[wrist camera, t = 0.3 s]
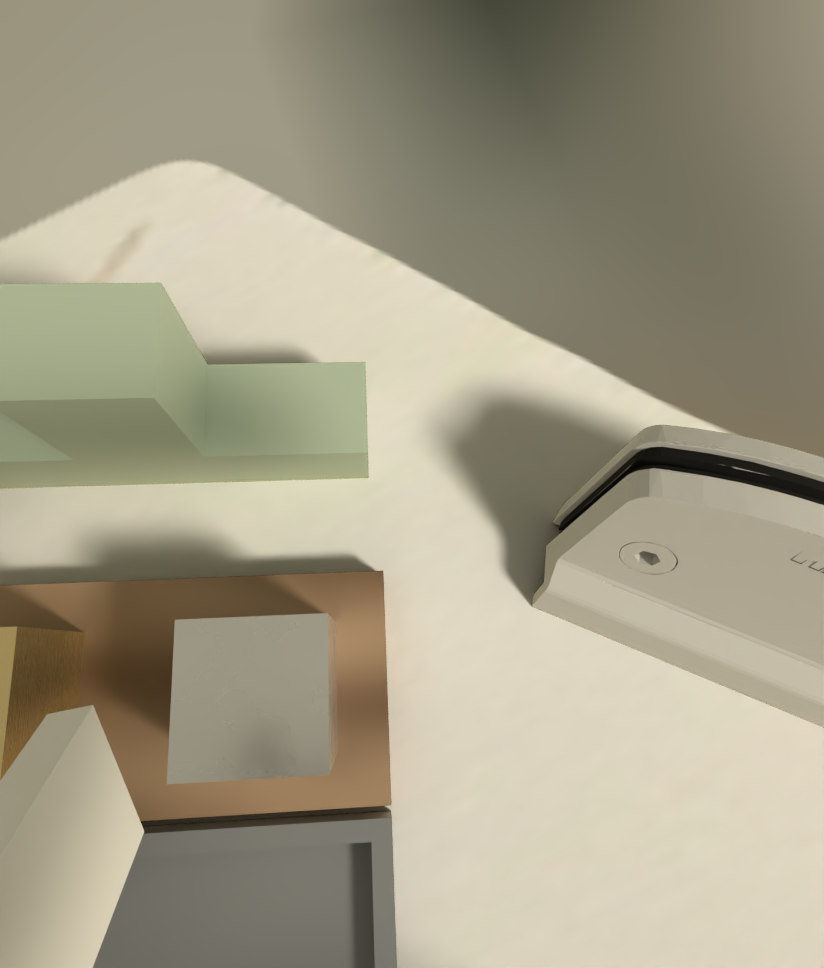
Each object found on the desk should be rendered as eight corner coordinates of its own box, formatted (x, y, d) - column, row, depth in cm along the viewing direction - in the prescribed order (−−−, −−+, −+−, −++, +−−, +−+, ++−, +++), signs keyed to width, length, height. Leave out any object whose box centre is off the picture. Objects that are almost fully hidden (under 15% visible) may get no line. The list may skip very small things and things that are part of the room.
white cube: (338, 752, 25) (329, 774, 20) (207, 760, 25) (167, 784, 20) (335, 621, 26) (327, 613, 21) (211, 627, 26) (174, 619, 21)
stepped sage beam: (368, 479, 30) (366, 393, 20) (-37, 490, 29) (-246, 405, 19) (366, 398, 31) (362, 281, 21) (-25, 406, 30) (-217, 285, 20)
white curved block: (523, 602, 28) (624, 477, 20) (546, 519, 31) (644, 379, 23) (885, 752, 28) (1143, 685, 19) (876, 654, 30) (1099, 558, 22)
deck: (390, 797, 26) (391, 805, 25) (-102, 827, 25) (-131, 838, 23) (382, 575, 28) (382, 570, 27) (-68, 592, 27) (-92, 589, 26)
